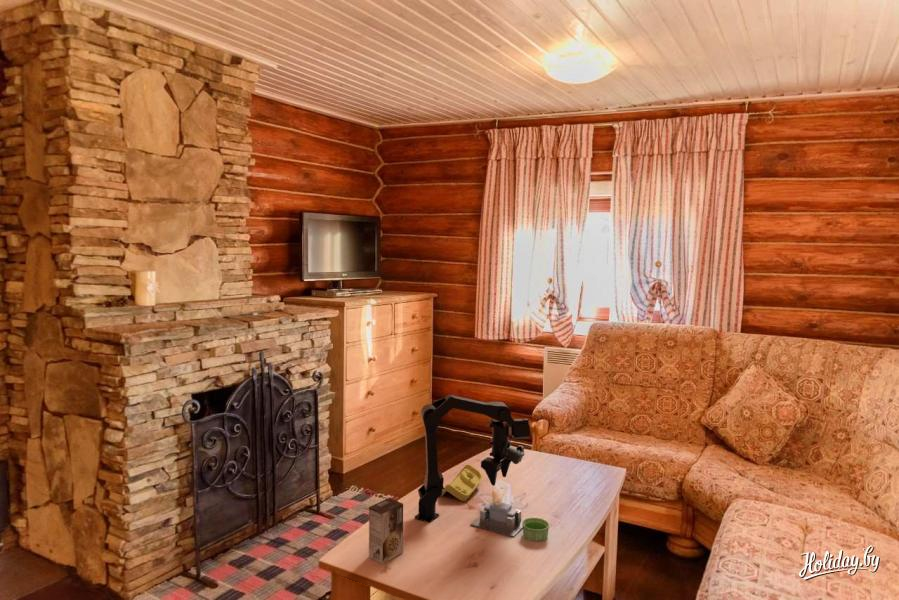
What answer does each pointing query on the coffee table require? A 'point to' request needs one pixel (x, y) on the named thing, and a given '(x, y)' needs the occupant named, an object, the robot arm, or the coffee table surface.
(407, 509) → the coffee table surface
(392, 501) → the coffee box
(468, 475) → the plastic component
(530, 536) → the ramekin
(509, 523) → the chassis
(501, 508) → the servo
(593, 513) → the coffee table surface
